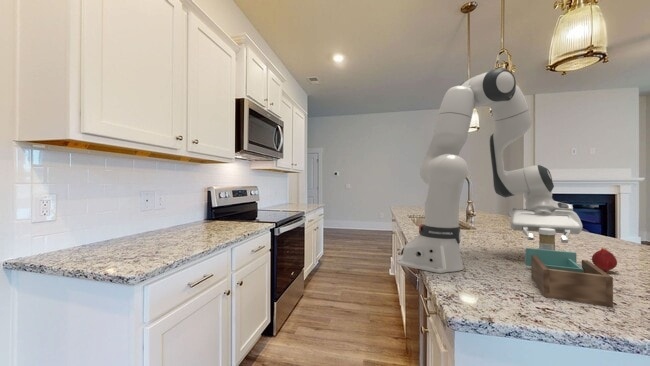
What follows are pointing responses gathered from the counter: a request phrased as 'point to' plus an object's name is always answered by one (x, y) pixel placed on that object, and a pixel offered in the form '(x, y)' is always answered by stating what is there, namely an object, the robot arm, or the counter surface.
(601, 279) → the open wooden box
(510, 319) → the counter surface
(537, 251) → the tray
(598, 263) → the onion
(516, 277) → the counter surface
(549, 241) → the pill bottle
